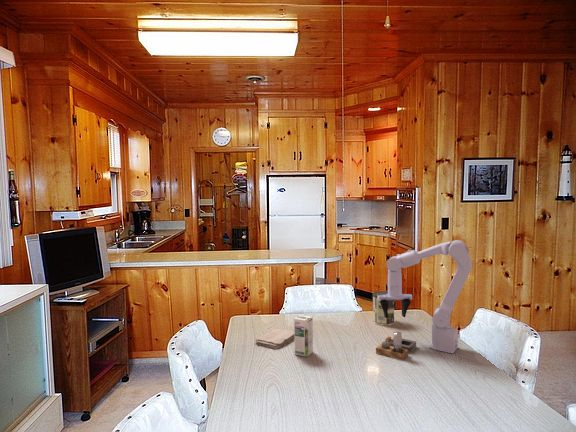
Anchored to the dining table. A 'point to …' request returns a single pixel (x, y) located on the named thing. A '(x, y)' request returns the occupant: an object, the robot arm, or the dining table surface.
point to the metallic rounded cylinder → (397, 342)
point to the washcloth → (275, 338)
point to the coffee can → (378, 311)
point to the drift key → (388, 339)
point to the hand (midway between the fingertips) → (394, 316)
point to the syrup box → (303, 335)
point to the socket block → (406, 344)
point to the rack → (390, 351)
